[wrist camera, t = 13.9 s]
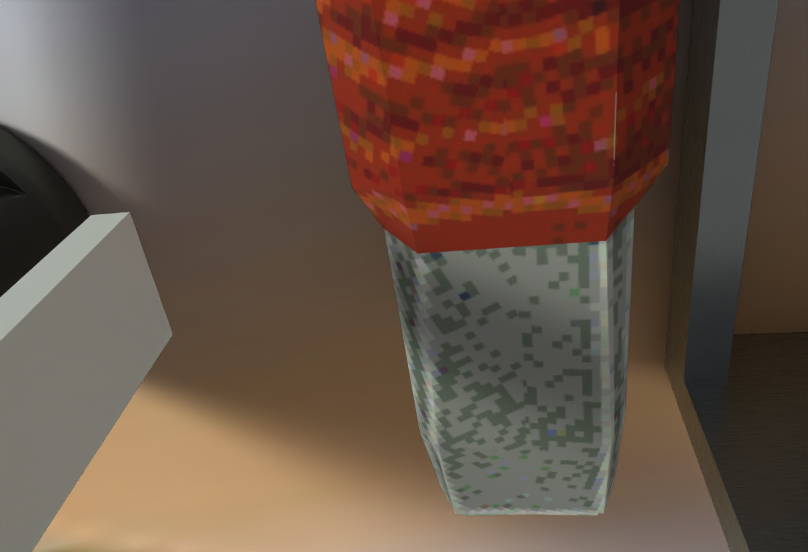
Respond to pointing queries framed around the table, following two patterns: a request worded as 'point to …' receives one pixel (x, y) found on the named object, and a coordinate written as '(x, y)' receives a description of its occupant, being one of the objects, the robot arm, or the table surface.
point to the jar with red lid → (509, 222)
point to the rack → (733, 295)
